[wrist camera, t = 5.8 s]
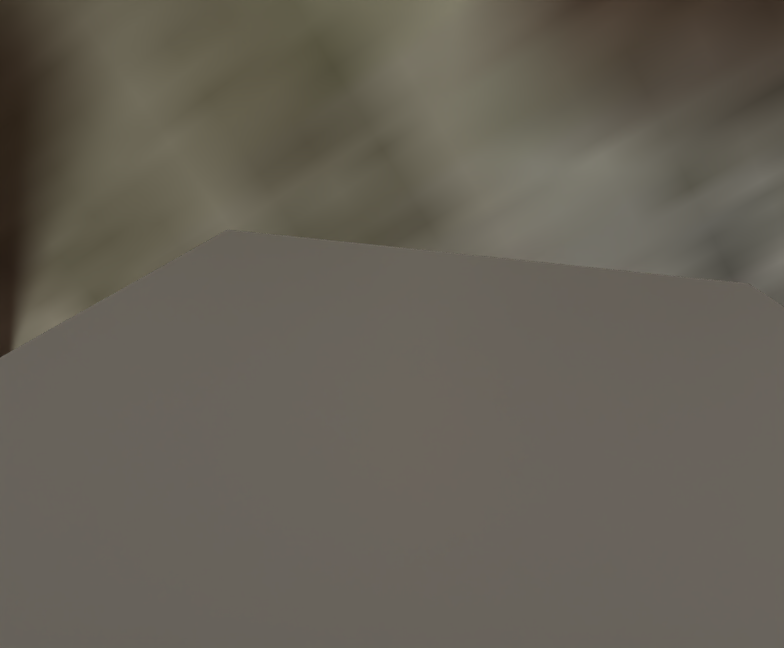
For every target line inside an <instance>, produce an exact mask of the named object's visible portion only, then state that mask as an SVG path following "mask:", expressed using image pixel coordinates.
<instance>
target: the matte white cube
mask: <svg viewBox="0 0 784 648" xmlns="http://www.w3.org/2000/svg"><path fill="white" fill-rule="evenodd" d="M0 648H784V307H783V306H782V305H780V304H779V303H777V302H776V301H774V300H773V299H771V298H770V297H768V296H767V295H765V294H764V293H762V292H761V291H759V290H758V289H756V288H755V287H753V286H752V285H750V284H747V283H738V282H728V281H718V280H709V279H699V278H689V277H680V276H670V275H660V274H651V273H641V272H632V271H622V270H612V269H603V268H593V267H583V266H574V265H564V264H554V263H545V262H535V261H525V260H516V259H506V258H497V257H487V256H477V255H468V254H458V253H448V252H439V251H429V250H419V249H410V248H400V247H390V246H381V245H371V244H362V243H352V242H342V241H333V240H323V239H313V238H304V237H294V236H284V235H275V234H265V233H256V232H246V231H236V230H225V231H224V232H222V233H220V234H218V235H217V236H215V237H213V238H211V239H210V240H208V241H206V242H204V243H202V244H201V245H199V246H197V247H195V248H194V249H192V250H190V251H188V252H186V253H185V254H183V255H181V256H179V257H178V258H176V259H174V260H172V261H170V262H169V263H167V264H165V265H163V266H162V267H160V268H158V269H156V270H155V271H153V272H151V273H149V274H147V275H146V276H144V277H142V278H140V279H139V280H137V281H135V282H133V283H131V284H130V285H128V286H126V287H124V288H123V289H121V290H119V291H117V292H115V293H114V294H112V295H110V296H108V297H107V298H105V299H103V300H101V301H99V302H98V303H96V304H94V305H92V306H91V307H89V308H87V309H85V310H84V311H82V312H80V313H78V314H76V315H75V316H73V317H71V318H69V319H68V320H66V321H64V322H62V323H60V324H59V325H57V326H55V327H53V328H52V329H50V330H48V331H46V332H44V333H43V334H41V335H39V336H37V337H36V338H34V339H32V340H30V341H29V342H27V343H25V344H23V345H21V346H20V347H18V348H16V349H14V350H13V351H11V352H9V353H7V354H5V355H4V356H2V357H0Z"/></svg>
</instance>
